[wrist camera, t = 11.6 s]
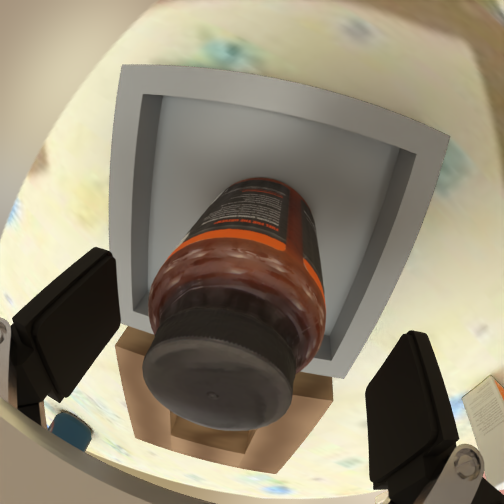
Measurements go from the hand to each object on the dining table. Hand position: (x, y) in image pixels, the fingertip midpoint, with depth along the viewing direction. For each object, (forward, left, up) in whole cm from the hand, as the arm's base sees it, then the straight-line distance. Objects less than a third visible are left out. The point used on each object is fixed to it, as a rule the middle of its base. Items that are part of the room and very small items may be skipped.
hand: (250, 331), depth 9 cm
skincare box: (-27, +12, -10) cm, 31 cm away
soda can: (+23, +40, -10) cm, 47 cm away
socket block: (+1, +18, -10) cm, 21 cm away
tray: (+1, 0, -10) cm, 9 cm away
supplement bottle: (+1, 0, -9) cm, 9 cm away
